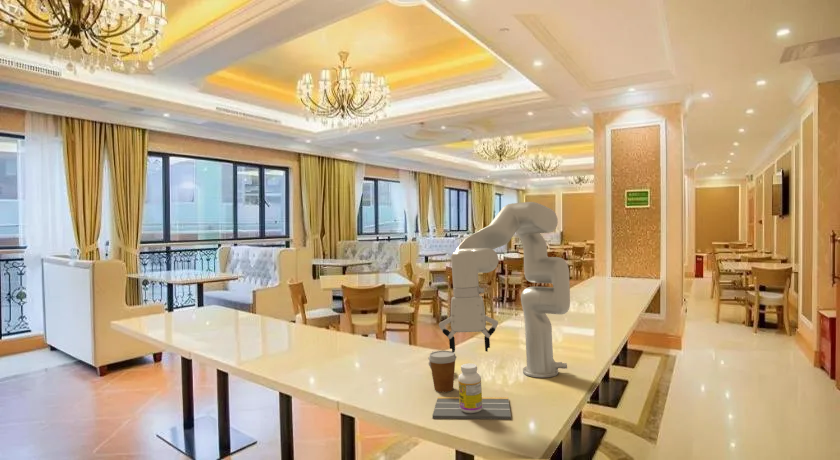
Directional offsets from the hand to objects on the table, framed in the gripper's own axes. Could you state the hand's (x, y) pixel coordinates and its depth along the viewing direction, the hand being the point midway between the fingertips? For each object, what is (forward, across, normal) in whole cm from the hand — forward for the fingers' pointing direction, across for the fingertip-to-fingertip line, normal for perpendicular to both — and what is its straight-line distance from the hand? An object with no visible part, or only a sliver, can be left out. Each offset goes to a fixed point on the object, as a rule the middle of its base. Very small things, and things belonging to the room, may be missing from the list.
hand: (470, 350), depth 132 cm
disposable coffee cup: (+18, +11, -19) cm, 28 cm away
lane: (+18, +1, -2) cm, 18 cm away
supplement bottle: (+17, +1, +1) cm, 17 cm away
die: (+19, +14, -37) cm, 44 cm away
